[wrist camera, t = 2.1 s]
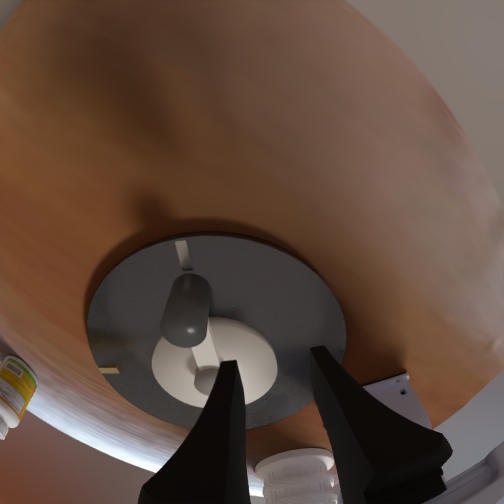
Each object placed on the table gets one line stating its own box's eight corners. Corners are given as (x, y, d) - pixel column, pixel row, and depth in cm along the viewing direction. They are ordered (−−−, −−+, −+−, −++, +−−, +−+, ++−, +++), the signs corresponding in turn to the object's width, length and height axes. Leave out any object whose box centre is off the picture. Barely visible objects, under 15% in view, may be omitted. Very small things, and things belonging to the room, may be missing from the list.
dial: (279, 393, 24) (287, 433, 20) (174, 403, 24) (169, 442, 20) (263, 259, 19) (273, 297, 15) (120, 280, 19) (96, 318, 14)
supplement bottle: (21, 385, 25) (-6, 439, 16) (-2, 354, 23) (-37, 407, 14) (46, 387, 25) (18, 448, 16) (21, 353, 23) (-16, 414, 14)
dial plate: (345, 210, 19) (351, 214, 18) (335, 406, 28) (337, 414, 27) (53, 257, 19) (46, 263, 18) (144, 426, 28) (142, 433, 27)
